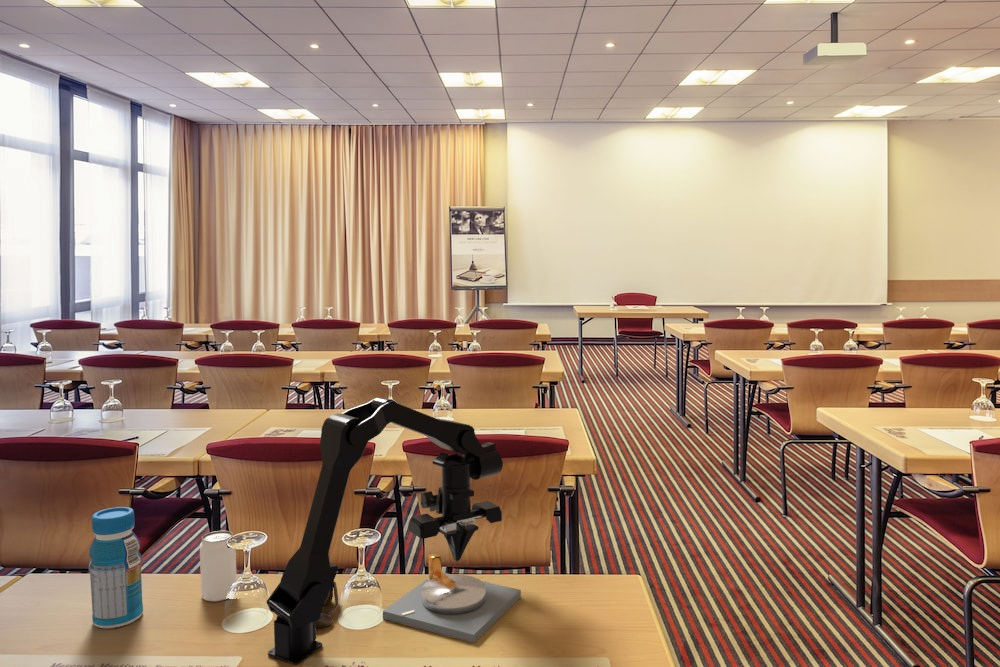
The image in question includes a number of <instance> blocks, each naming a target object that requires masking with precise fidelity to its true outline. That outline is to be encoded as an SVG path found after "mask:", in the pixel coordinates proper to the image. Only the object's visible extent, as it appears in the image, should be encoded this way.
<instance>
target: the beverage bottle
mask: <svg viewBox="0 0 1000 667" xmlns="http://www.w3.org/2000/svg"><path fill="white" fill-rule="evenodd" d="M135 520H136V519H135V512H134V509H133V508H132V507H128V506H116V507H110V508H109V507H108V508H104V509H102V510H101V509H100V510H98V511H96V512H95V513H93V514H92V515H91V530H92V534H93V535H94V536H95V537H94V539H93V540H92V542H91V545H90V546H89V550H88V557H89V558H90V562H89V563H88V572H89V575H90V576H89V579H90V590H91V591H90V592H91V608H92V615H91V617H92V620H91V621H92V624H93V625H94V626H95V627H97V628H100V629H115V627H117V628H121V627H124V625H125V626H127V625H130V624H131V623H134V622H136V621H137V620H138V619H140V618H141V617H142V615H143V613H144V603H143V589H142V588H143V587H142V586H143V584H142V581H143V580H142V562H143V559H142V554H141V553H140V551H139V550H140V548H141V542H140V539H139V538H138V536H137V534H135V533H134V531H133V529H134V528H135ZM135 620H136V621H135ZM120 626H121V627H120Z"/></svg>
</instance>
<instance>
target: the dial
mask: <svg viewBox="0 0 1000 667" xmlns="http://www.w3.org/2000/svg"><path fill="white" fill-rule="evenodd" d="M444 573H445V572H443V573H442V555H441V554H439V553H432V554H429V555H428V578H429V581H428V582H426V583H425V584H424V585H423V587H422V603H423V605H424V606H425V607H426V608H428V609H430V610H432V611H435V612H438V613H444V614H459V613H465V612H469V611H472V610H475V609H477V608H479V607H480V606H481V605H483V603H484V602H485V600H486V587H485V584H484V583H483V582H484V581H483V582H482V580H480V578H477V577H475V576H471V575H467V574H452V575H445V574H444Z"/></svg>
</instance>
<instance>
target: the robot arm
mask: <svg viewBox="0 0 1000 667" xmlns="http://www.w3.org/2000/svg"><path fill="white" fill-rule="evenodd" d="M389 424H393V425H396V426H398V427H401V428H404V429H406V430H409V431H412V432H415V433H418V434H421V435H423V436H424V437H427V438H428V440H429V441H431V442H432V443H433V444H435V445H437V446H438V447H440V448H442V449H445V450H448V451H450V452H455V453H450V454H448V453H445V452H443V451H440V453H439V454H438V456H436V457H435V458H434V459H433V460H432V465H435V466H438V467H441V487H438V491H437V494H434V493H433V491H431V490H430V491H424V492H420V505H421V508H422V509H428V508H429V511H430V512H435V513H436V514H438V515H441V516H437V517H433V516H432V515H430V514H429V513H422V514H418V515H414V516H411V517H410V518H409V521H408V531H409V532H410V533H412V534H413V535H415V536H416V537H418V538H419V539H422V540H425V539H428V538H433V537H437V536H438V535H439V533H441V534H442V535H443V536H444V538H445V541H446V542H447V545H448V547H449V548H448V549H449V550H450V553H451V556H452V559H453V560H454V561H455V562H459V561H460V560H462V559H461V558H462V557H463V555H464V552H465V550H466V547H467V546H468V544H469V542H470V540H471V539H472V537H473V535H474V533H475V532H476V531H478V530H479V526H478V525H476V520H478V519H483V518H485V520H486V521H487V522H488V523H490V524H494V523H497V522H498V523H499V522H501V521H503V510H502V508H501V507H500V506H499V505H497V504H495V503H493V502H492V501H491V502H490V501H489V500H485V501H481V502H476V503H475V502H474V503H473V504H471V503H472V502H471V499H472V498H471V497H474V496H475V491H474V490H473V489H471V487H472V486H471V480H473V481H474V480H475V481H477V480H481V479H485V478H488V477H493V476H495V475H498V474H500V473H501V472H502V471H503V470H502V469H503V466H504V460H503V459H502V456H501V454H500V452H499V451H498V450H497V446H496V443H493V442H490V441H489V442H488V441H487V442H485V443H483V444H481V442H480V441H479V439H478V438H477V436H476V431H475V430H476V429H475V428H474V426H472V425H470V424H466V423H463V422H458V421H454V420H449V419H444V418H435V417H433V416H431V415H428V414H425V413H423V412H421V411H418V410H415V409H413V408H410V407H409V406H406V405H403V404H400V403H398V402H397V401H395V400H394V399H390V398H386V397H381V396H379V397H375V398H373V399H371V400H369V401H368V402H366V403H364V404H360V405H358V406H355V407H352V408H348V409H346V410H345V411H343V412H341V413H334V414H332V415H330V416H329V417H327V418H325V420H324V421H323V424H322V426H321V434H320V442H319V449H320V454H321V461H322V463H321V465H322V466H321V469H320V472H319V475H318V480H317V484H316V486H315V490H314V495H313V498H312V501H311V502H312V503H311V506H310V510H309V514H308V517H307V521H306V524H305V525H306V526H305V529H304V533H303V535H302V536H303V537H302V540H301V543H300V546H299V548H298V549H297V550H296V552H295V553H294V554H293V555H292V556H291V557H290V558H289V560H288V562H287V564H286V566H285V569H284V570H283V573H282V576H281V577H280V581H279V584H278V585H277V586H276V587H275V589H274V590H273V592H271V594H270V596H269V597H268V598H267V600H266V605H267V607H268V609H269V611H270V612H271V613H273V614H275V615H276V619H275V620H273V631H274V632H273V634H274V636H273V637H274V638H273V639H274V640H273V642H274V647H273V648H271V649H270V650H268V651H267V655H268V656H269V657H272V658H275V659H278V660H281V661H284V662H287V663H290V664H293V665H297V664H300V663H301V662H303V661H304V660H305V659H307V658H308V657H310V656H311V655H312V654H314V653H315V652H316V651H318V650H319V649H320V648H322V647H323V642H321V641H317V640H316V639H317V628H316V621H317V620H319V619H320V615H321V612H323V609H324V608H323V605H324V602H325V601H326V599H327V597H328V595H329V591H331V592H333V593H334V588H333V582H335V578H336V576H337V574H338V567H339V566H337V565H336V564H334V563H332V562H330V549H331V546H332V542H333V538H334V536H335V530H336V527H337V522H338V519H339V515H340V511H341V509H342V504H343V499H344V497H345V492H346V489H347V484H348V481H349V477H350V472H351V471H352V469H353V468H354V467H355V465H356V464H357V463H358V462H359V460H360V459H362V458H363V456H364V453H365V450H366V447H368V446H367V445H368V443H369V441H371V440H372V439H374V438H376V437H377V436H379V435H380V434H381V433H382V431H384V430H385V428H386V427H387V426H388V425H389ZM462 454H463V455H462Z"/></svg>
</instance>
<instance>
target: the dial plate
mask: <svg viewBox="0 0 1000 667" xmlns="http://www.w3.org/2000/svg"><path fill="white" fill-rule="evenodd" d="M441 572H442V571H441ZM442 573H444V574H445V575H453V574H451V573H445V572H442ZM428 581H429V577H428V578H426V579H425V580H424V581H422V582H421V583H419V584H418V585H416V586H415V587H413V588H412V589H411V590H410V591H408V592H407V593H406V594H404V595H403V596H401V597H400V598H398V599H397V600H396V601H395V602H393V603H392V604H390V605H389V606H388V607H386V608H385V609H383V610H382V620H385V621H389V622H393V623H397V624H399V625H404V626H408V627H412V628H415V629H419V630H424V631H427V632H430V633H434V634H438V635H442V636H444V637H445V636H446V637H449V638H453V639H456V640H460V641H464V642H467V643H472V644H475V643H476V642H477V641H478V640H479V639H480V637H482V636H483V635H484V634H485V633H487V631H488V630H489V629H490V628H491V627H492V626H493V625H494V624H495V623H496V622H498V620H499V619H500V618H501V617H502V616H503V615H505V613H506V612H507V611H508V610H509V609H510V608H511V607H513V605H515V604H516V603H517V602H518V600H519V599H520V598H521V597H522V590H521V589H519V588H514V587H509V586H506V585H502V584H501V585H500V584H496V583H492V582H487V581H482V580H481V581H482V582H483V583H484V584H485V587H486V600H485V602H484V603H483V605H481V606H480V607H479V608H477V609H475V610H472V611H469V612H465V613H459V614H444V613H438V612H435V611H432V610H430V609H428V608H426V607H425V606H424V605H423V603H422V587H423V585H424V584H425V583H426V582H428Z"/></svg>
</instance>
